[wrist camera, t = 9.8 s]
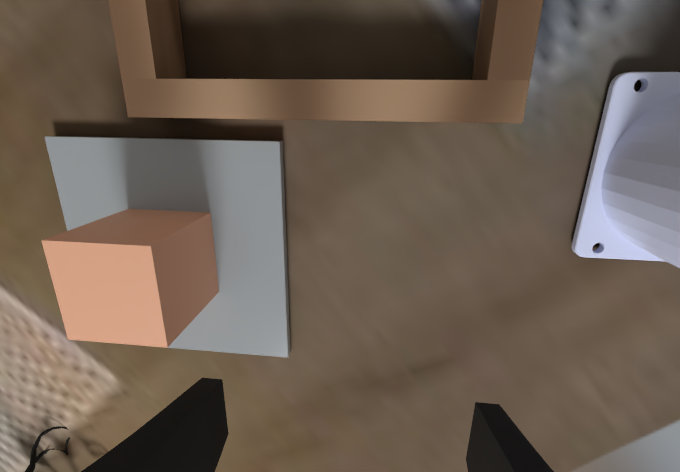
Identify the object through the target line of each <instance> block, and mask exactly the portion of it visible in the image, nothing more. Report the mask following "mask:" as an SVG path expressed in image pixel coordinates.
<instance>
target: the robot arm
mask: <svg viewBox="0 0 680 472" xmlns="http://www.w3.org/2000/svg"><path fill="white" fill-rule="evenodd" d="M637 80H640V82H641V88H640V90H639V91H637V92H636V91H635V90H634V84H635V82H636V81H637ZM596 243H599V245H600V246H599V247H598V249H596V250H593V251H592V247H593V246H594V245H595V244H596ZM572 250H573V252H575V253H576V254H577V255H579V256H581V257H590V258H610V259H630V260H650V261H667V262H669V263H671V264H673V265H675V266H676V267H678V268H680V72H627V73H622V74H619V75H617V76H616V77H615V78H614V79H613V80H612V81H611V83H610V85H609V89H608V93H607V98H606V102H605V106H604V110H603V114H602V119H601V123H600V127H599V131H598V136H597V140H596V144H595V148H594V153H593V157H592V161H591V165H590V170H589V174H588V178H587V182H586V187H585V191H584V195H583V199H582V204H581V208H580V212H579V216H578V221H577V225H576V229H575V233H574V237H573V242H572ZM227 436H228V427H227V418H226V409H225V400H224V391H223V382H222V380H221V379H210V378H202V379H200V380H199V381H198V382H196V383H195V384H194V385H193V386H191V387H190V388H189V389H188V390H187V391H185V392H184V393H183V394H182V395H181V396H179V397H178V398H177V399H176V400H174V401H173V402H172V403H171V404H170V405H168V406H167V407H166V408H165V409H163V410H162V411H161V412H160V413H158V414H157V415H156V416H155V417H153V418H152V419H151V420H150V421H148V422H147V423H146V424H145V425H143V426H142V427H141V428H140V429H138V430H137V431H136V432H135V433H133V434H132V435H131V436H129V437H128V438H127V439H125V440H124V441H123V442H121V443H120V444H118V445H117V446H116V447H114V448H113V449H112V450H110V451H109V452H108V453H106V454H105V455H104V456H102V457H101V458H100V459H98V460H97V461H96V462H94V463H93V464H91V465H90V466H88V467H87V468H86V469H84V470H83V471H81V472H215V469H216V466H217V464H218V461H219V458H220V456H221V453H222V450H223V447H224V444H225V442H226V439H227ZM466 461H467V467H468V472H554V471H553V470H552V469H551V468H550V467H549V466H548V464H547V463H546V462H545V461H544V460H543V458H542V457H541V456H540V455H539V454H538V452H537V451H536V450H535V449H534V447H533V446H532V445H531V444H530V443H529V441H528V440H527V439H526V438H525V436H524V435H523V434H522V433H521V431H520V430H519V429H518V428H517V426H516V425H515V424H514V422H513V421H512V420H511V419H510V417H509V416H508V415H507V414H506V412H505V411H504V410H503V409H502V407H501V406H500V405H499V404H488V403H477V402H476V403H475V409H474V415H473V421H472V427H471V433H470V439H469V445H468V450H467V456H466Z"/></svg>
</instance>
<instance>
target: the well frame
mask: <svg viewBox="0 0 680 472" xmlns="http://www.w3.org/2000/svg"><path fill="white" fill-rule="evenodd" d="M108 1H109V7H110V13H111V19H112V25H113V31H114V37H115V43H116V49H117V55H118V61H119V67H120V73H121V79H122V84H123V90H124V96H125V102H126V108H127V114H128V117H149V118H214V119H279V120H344V121H408V122H473V123H523V118H524V112H525V106H526V100H527V94H528V88H529V82H530V76H531V70H532V65H533V59H534V53H535V47H536V41H537V35H538V29H539V23H540V17H541V11H542V5H543V0H482V1H481V9H480V17H479V25H478V34H477V42H476V50H475V58H474V67H473V75H472V80H341V79H187V75H186V66H185V57H184V48H183V40H182V31H181V22H180V13H179V4H178V0H108Z"/></svg>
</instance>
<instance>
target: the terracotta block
mask: <svg viewBox="0 0 680 472" xmlns="http://www.w3.org/2000/svg"><path fill="white" fill-rule="evenodd" d="M42 244H43V247H44V251H45V255H46V259H47V262H48V266H49V270H50V274H51V277H52V281H53V285H54V288H55V292H56V296H57V300H58V303H59V307H60V311H61V314H62V318H63V322H64V326H65V329H66V333H67V337H68V339H69V340H82V341H94V342H106V343H118V344H130V345H142V346H154V347H166V348H168V347H169V346H170V344H171V343H172V342H173V341H174V340H175V339H176V338H177V337H178V336H179V335H180V334H181V333H182V331H183V330H184V329H185V328H186V327H187V326H188V325H189V324H190V323H191V322H192V321H193V320H194V318H195V317H196V316H197V315H198V314H199V313H200V312H201V311H202V310H203V309H204V308H205V307H206V305H207V304H208V303H209V302H210V301H211V300H212V299H213V298H214V297H215V296H216V295H217V294H218V292H219V287H218V277H217V268H216V258H215V249H214V239H213V230H212V220H211V212H188V211H165V210H142V209H126V210H124V211H121V212H118V213H115V214H113V215H110V216H107V217H104V218H102V219H99V220H96V221H93V222H91V223H88V224H85V225H82V226H80V227H77V228H74V229H71V230H69V231H66V232H63V233H60V234H58V235H55V236H52V237H49V238H47V239H44V240H42Z"/></svg>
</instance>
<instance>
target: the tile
mask: <svg viewBox="0 0 680 472" xmlns="http://www.w3.org/2000/svg"><path fill="white" fill-rule="evenodd" d="M45 141H46V145H47V149H48V153H49V157H50V161H51V165H52V169H53V174H54V178H55V182H56V186H57V190H58V194H59V198H60V202H61V207H62V211H63V215H64V219H65V223H66V227H67V231H69V230H71V229H74V228H77V227H80V226H82V225H85V224H88V223H91V222H93V221H96V220H99V219H102V218H104V217H107V216H110V215H113V214H115V213H118V212H121V211H124V210H126V209H142V210H165V211H188V212H211V220H212V230H213V239H214V249H215V258H216V268H217V277H218V287H219V292H218V294H217V295H216V296H215V297H214V298H213V299H212V300H211V301H210V302H209V303H208V304H207V305H206V307H205V308H204V309H203V310H202V311H201V312H200V313H199V314H198V315H197V316H196V317H195V318H194V320H193V321H192V322H191V323H190V324H189V325H188V326H187V327H186V328H185V329H184V330H183V331H182V333H181V334H180V335H179V336H178V337H177V338H176V339H175V340H174V341H173V342H172V343H171V344H170V346H169V347H168V348H179V349H191V350H203V351H216V352H228V353H240V354H252V355H264V356H277V357H288V356H289V354H290V324H289V296H288V269H287V242H286V214H285V187H284V159H283V141H269V140H222V139H175V138H128V137H82V136H45Z"/></svg>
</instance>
